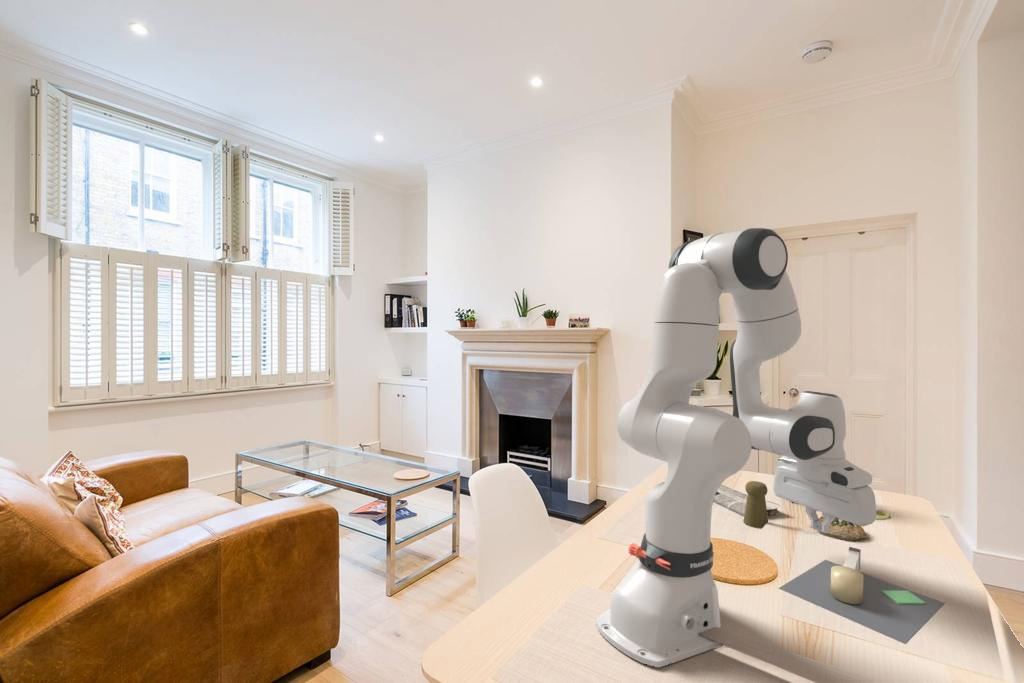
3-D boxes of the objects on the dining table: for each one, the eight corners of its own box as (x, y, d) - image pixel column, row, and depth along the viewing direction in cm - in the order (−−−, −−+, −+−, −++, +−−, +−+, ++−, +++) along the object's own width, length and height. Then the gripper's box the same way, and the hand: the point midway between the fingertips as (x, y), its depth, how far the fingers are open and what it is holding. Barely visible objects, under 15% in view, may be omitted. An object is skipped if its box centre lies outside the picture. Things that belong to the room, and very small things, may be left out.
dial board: (905, 652, 78) (905, 641, 78) (778, 595, 94) (778, 586, 94) (945, 610, 89) (945, 600, 89) (825, 566, 106) (826, 557, 106)
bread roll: (826, 519, 131) (828, 502, 130) (873, 540, 122) (877, 522, 121) (805, 530, 125) (807, 513, 124) (853, 553, 116) (856, 534, 115)
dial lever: (861, 607, 87) (862, 582, 87) (828, 597, 91) (829, 573, 90) (869, 572, 100) (869, 550, 99) (840, 564, 103) (840, 543, 103)
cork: (772, 529, 125) (772, 486, 125) (746, 527, 126) (747, 485, 126) (764, 519, 131) (765, 479, 131) (740, 518, 132) (741, 478, 132)
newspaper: (668, 482, 163) (668, 472, 163) (698, 478, 168) (698, 468, 168) (752, 522, 130) (752, 509, 130) (787, 516, 134) (787, 503, 134)
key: (844, 503, 143) (844, 496, 143) (893, 518, 133) (893, 511, 132) (830, 508, 140) (830, 501, 140) (879, 524, 129) (879, 516, 129)
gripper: (766, 456, 112) (766, 515, 112) (861, 483, 93) (861, 553, 94) (785, 452, 114) (785, 510, 115) (881, 477, 96) (880, 546, 96)
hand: (820, 530), depth 104 cm, fingers closed
